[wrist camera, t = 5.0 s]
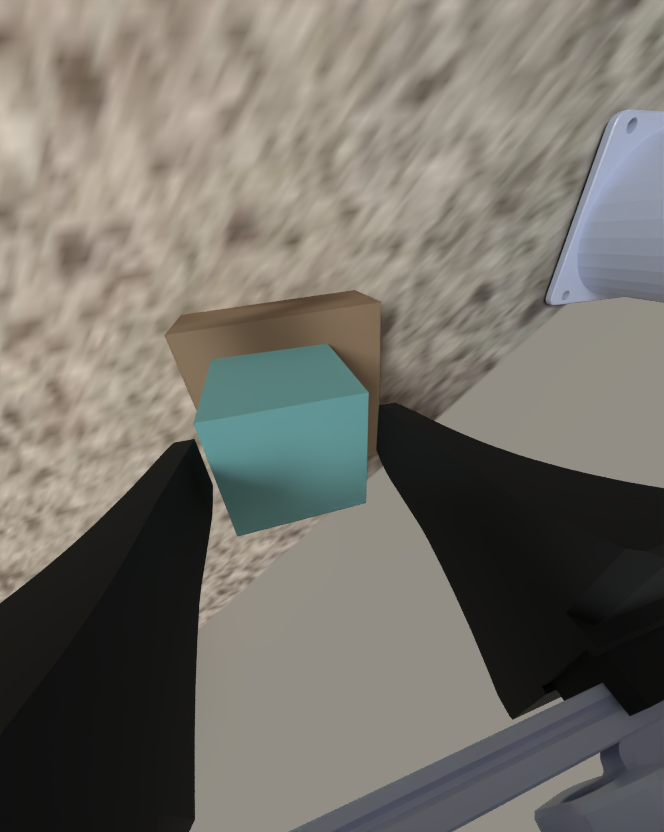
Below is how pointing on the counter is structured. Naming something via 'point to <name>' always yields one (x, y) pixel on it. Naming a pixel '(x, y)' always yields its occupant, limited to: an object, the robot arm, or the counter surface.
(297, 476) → the teal cube
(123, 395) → the counter surface
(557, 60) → the counter surface
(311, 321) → the walnut block
